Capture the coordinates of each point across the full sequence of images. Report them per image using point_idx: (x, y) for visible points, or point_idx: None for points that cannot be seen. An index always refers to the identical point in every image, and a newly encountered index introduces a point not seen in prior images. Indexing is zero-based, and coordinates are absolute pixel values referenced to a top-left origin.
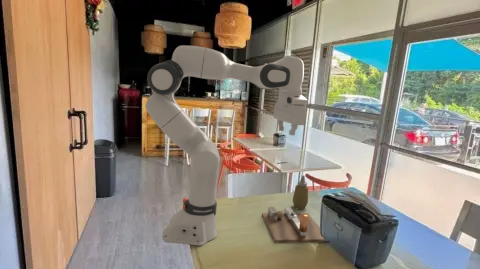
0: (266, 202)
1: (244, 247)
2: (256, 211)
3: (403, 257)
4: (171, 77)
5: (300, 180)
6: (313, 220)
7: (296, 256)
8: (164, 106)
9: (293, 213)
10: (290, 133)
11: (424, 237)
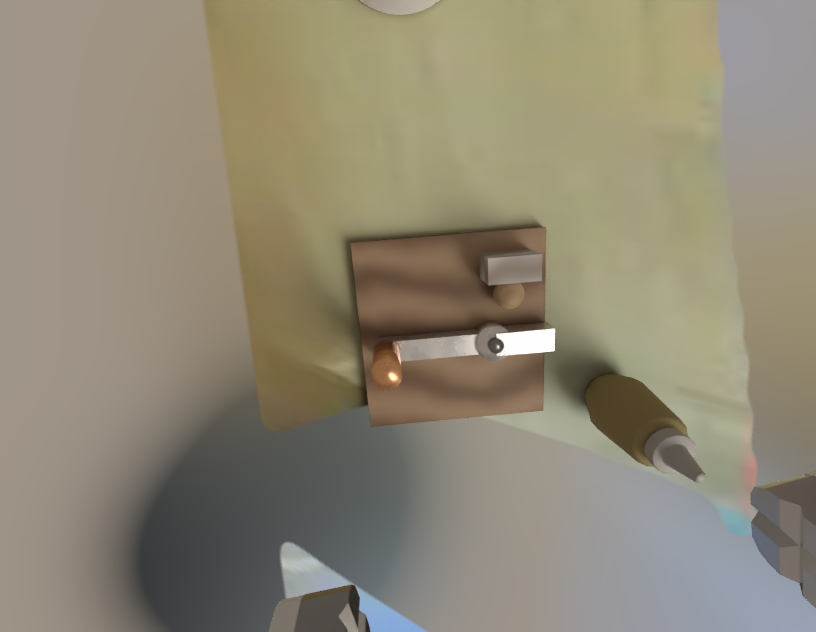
0: (658, 266)
1: (312, 125)
2: (577, 208)
3: (312, 582)
4: None
5: (684, 450)
6: (489, 413)
7: (282, 297)
8: None
9: (495, 348)
10: (288, 617)
11: None
